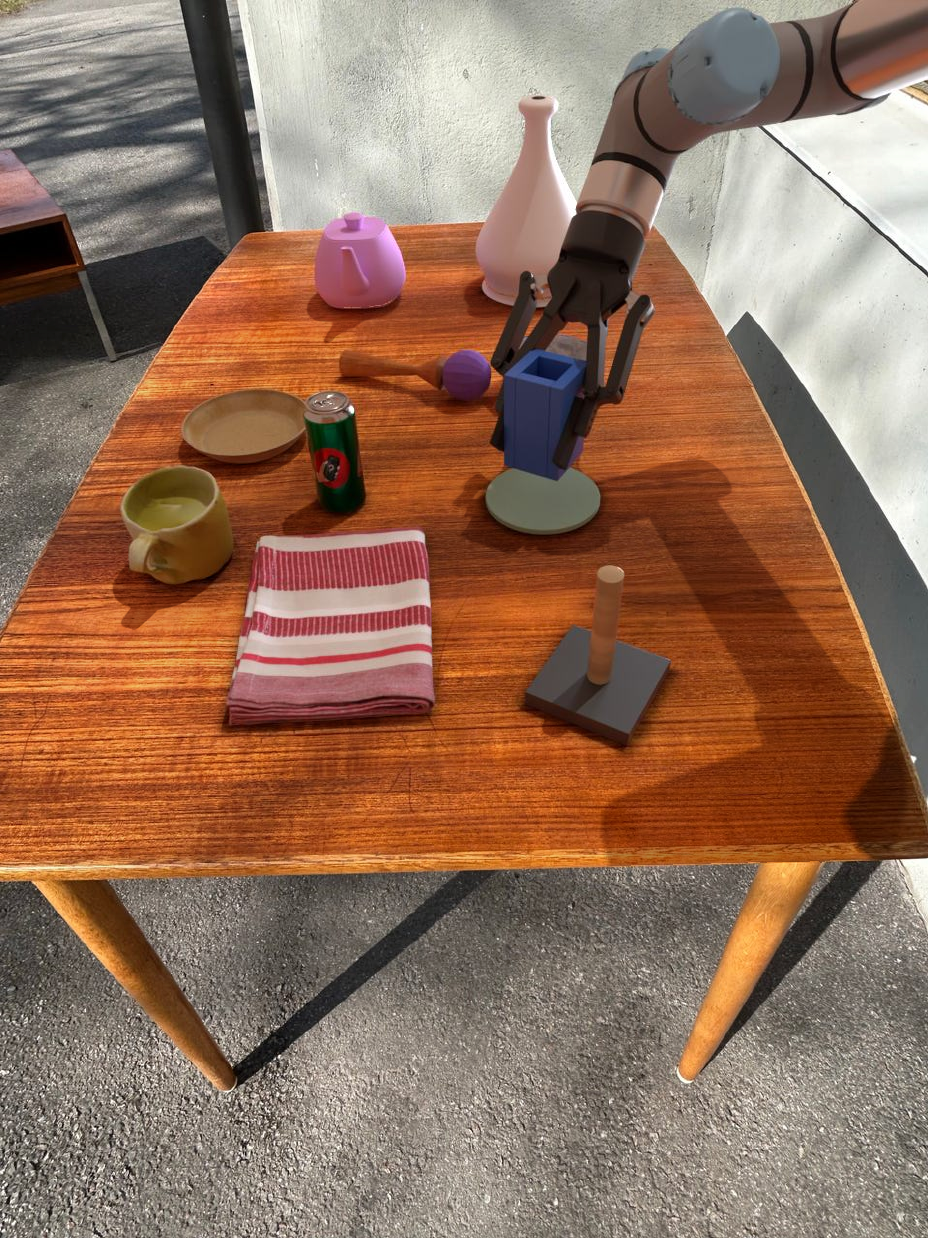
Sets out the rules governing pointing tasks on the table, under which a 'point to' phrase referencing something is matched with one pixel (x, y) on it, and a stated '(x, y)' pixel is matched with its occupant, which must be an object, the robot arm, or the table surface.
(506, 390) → the sleeve
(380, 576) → the dish towel
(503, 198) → the vase
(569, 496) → the coaster
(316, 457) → the soda can
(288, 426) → the plant saucer
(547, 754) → the table surface
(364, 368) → the purple maraca
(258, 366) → the table surface
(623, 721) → the dowel stand
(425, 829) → the table surface
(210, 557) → the mug
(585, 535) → the table surface
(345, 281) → the teapot
